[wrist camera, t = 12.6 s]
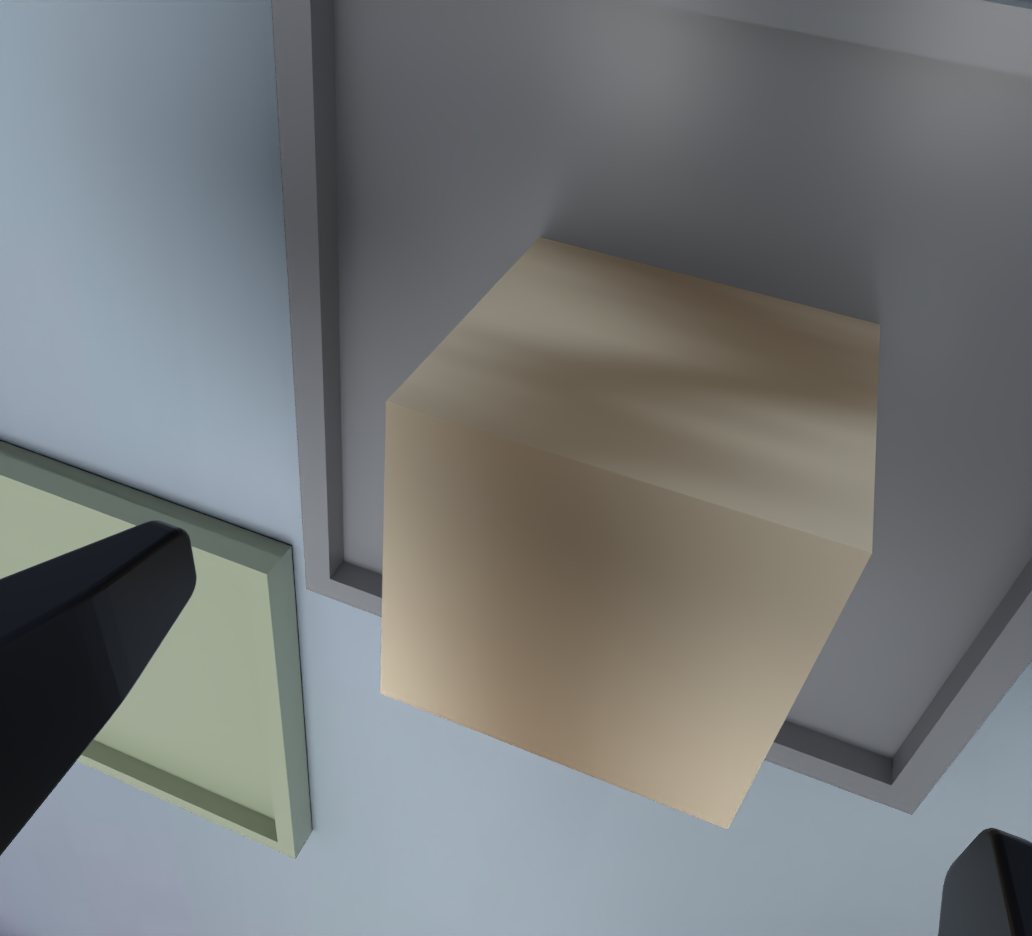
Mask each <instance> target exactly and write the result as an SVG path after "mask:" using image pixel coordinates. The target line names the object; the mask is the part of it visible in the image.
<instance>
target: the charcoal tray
mask: <svg viewBox="0 0 1032 936" xmlns="http://www.w3.org/2000/svg"><path fill="white" fill-rule="evenodd" d="M271 3H272V20H273V36H274V53H275V70H276V87H277V104H278V121H279V137H280V154H281V171H282V188H283V205H284V222H285V238H286V255H287V272H288V289H289V306H290V323H291V339H292V356H293V373H294V390H295V407H296V423H297V440H298V457H299V474H300V491H301V508H302V524H303V541H304V558H305V575H306V589H308V590H310V591H313V592H316V593H318V594H321V595H324V596H326V597H329V598H332V599H335V600H337V601H340V602H343V603H345V604H348V605H351V606H353V607H356V608H359V609H361V610H364V611H367V612H369V613H372V614H375V615H377V616H380V617H382V575H383V524H384V472H385V421H386V401H387V400H388V398H389V397H390V396H391V395H392V394H393V393H394V392H395V391H396V390H397V389H398V388H399V387H400V386H401V385H402V384H403V382H404V381H405V380H406V379H407V378H408V377H409V376H410V375H411V374H412V373H413V372H414V371H415V370H416V369H417V368H418V366H419V365H420V364H421V363H422V362H423V361H424V360H425V359H426V358H427V357H428V356H429V355H430V354H431V353H432V352H433V350H434V349H435V348H436V347H437V346H438V345H439V344H440V343H441V342H442V341H443V340H444V339H445V338H446V337H447V335H448V334H449V333H450V332H451V331H452V330H453V329H454V328H455V327H456V326H457V325H458V324H459V323H460V322H461V321H462V319H463V318H464V317H465V316H466V315H467V314H468V313H469V312H470V311H471V310H472V309H473V308H474V307H475V306H476V305H477V303H478V302H479V301H480V300H481V299H482V298H483V297H484V296H485V295H486V294H487V293H488V292H489V291H490V290H491V289H492V287H493V286H494V285H495V284H496V283H497V282H498V281H499V280H500V279H501V278H502V277H503V276H504V275H505V274H506V272H507V271H508V270H509V269H510V268H511V267H512V266H513V265H514V264H515V263H516V262H517V261H518V260H519V259H520V258H521V256H522V255H523V254H524V253H525V252H526V251H527V250H528V249H529V248H530V247H531V246H532V245H533V244H534V243H535V242H536V240H537V239H538V238H539V237H542V238H546V239H549V240H553V241H557V242H561V243H565V244H569V245H573V246H577V247H581V248H584V249H588V250H592V251H596V252H600V253H604V254H608V255H612V256H616V257H619V258H623V259H627V260H631V261H635V262H639V263H643V264H647V265H651V266H655V267H658V268H662V269H666V270H670V271H674V272H678V273H682V274H686V275H690V276H693V277H697V278H701V279H705V280H709V281H713V282H717V283H721V284H725V285H729V286H732V287H736V288H740V289H744V290H748V291H752V292H756V293H760V294H764V295H767V296H771V297H775V298H779V299H783V300H787V301H791V302H795V303H799V304H802V305H806V306H810V307H814V308H818V309H822V310H826V311H830V312H834V313H838V314H841V315H845V316H849V317H853V318H857V319H861V320H865V321H869V322H873V323H876V324H880V344H879V372H878V401H877V429H876V458H875V486H874V515H873V543H872V554H871V556H870V558H869V560H868V562H867V564H866V566H865V568H864V570H863V572H862V574H861V575H860V577H859V579H858V581H857V583H856V585H855V587H854V589H853V591H852V593H851V595H850V596H849V598H848V600H847V602H846V604H845V606H844V608H843V610H842V612H841V614H840V616H839V617H838V619H837V621H836V623H835V625H834V627H833V629H832V631H831V633H830V635H829V637H828V639H827V640H826V642H825V644H824V646H823V648H822V650H821V652H820V654H819V656H818V658H817V660H816V661H815V663H814V665H813V667H812V669H811V671H810V673H809V675H808V677H807V679H806V681H805V682H804V684H803V686H802V688H801V690H800V692H799V694H798V696H797V698H796V700H795V702H794V704H793V705H792V707H791V709H790V711H789V713H788V715H787V717H786V719H785V721H784V723H783V725H782V726H781V728H780V730H779V732H778V734H777V736H776V738H775V740H774V742H773V744H772V746H771V747H770V749H769V751H768V753H767V755H766V757H765V759H764V760H766V761H769V762H772V763H774V764H777V765H780V766H782V767H785V768H788V769H790V770H793V771H796V772H798V773H801V774H804V775H807V776H809V777H812V778H815V779H817V780H820V781H823V782H825V783H828V784H831V785H833V786H836V787H839V788H841V789H844V790H847V791H849V792H852V793H855V794H857V795H860V796H863V797H866V798H868V799H871V800H874V801H876V802H879V803H882V804H884V805H887V806H890V807H892V808H895V809H898V810H900V811H903V812H906V813H908V814H911V815H912V814H913V812H914V811H915V810H916V809H917V807H918V806H919V805H920V803H921V802H922V801H923V800H924V798H925V797H926V796H927V794H928V793H929V792H930V791H931V789H932V788H933V787H934V785H935V784H936V783H937V782H938V780H939V779H940V778H941V776H942V775H943V774H944V773H945V771H946V770H947V769H948V767H949V766H950V765H951V763H952V762H953V761H954V760H955V758H956V757H957V756H958V754H959V753H960V752H961V751H962V749H963V748H964V747H965V745H966V744H967V743H968V742H969V740H970V739H971V738H972V736H973V735H974V734H975V733H976V731H977V730H978V729H979V727H980V726H981V725H982V724H983V722H984V721H985V720H986V718H987V717H988V716H989V715H990V713H991V712H992V711H993V709H994V708H995V707H996V706H997V704H998V703H999V702H1000V700H1001V699H1002V698H1003V696H1004V695H1005V694H1006V693H1007V691H1008V690H1009V689H1010V687H1011V686H1012V685H1013V684H1014V682H1015V681H1016V680H1017V678H1018V677H1019V676H1020V675H1021V673H1022V672H1023V671H1024V669H1025V668H1026V667H1027V666H1028V664H1029V663H1030V662H1031V660H1032V0H271Z"/></svg>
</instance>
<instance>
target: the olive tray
mask: <svg viewBox="0 0 1032 936" xmlns="http://www.w3.org/2000/svg"><path fill="white" fill-rule="evenodd" d="M152 520H160V521H164V522H166V523H169V524H172V525H174V526H177V527H180V528H182V529H184V530H185V531H186V532H187V533H188V534H189V537H190V540H191V546H192V552H193V558H194V563H195V569H196V576H197V580H196V586H195V589H194V592H193V594H192V596H191V598H190V600H189V601H188V603H187V604H186V606H185V607H184V609H183V610H182V612H181V614H180V615H179V617H178V618H177V620H176V621H175V623H174V624H173V626H172V628H171V629H170V631H169V632H168V634H167V635H166V637H165V638H164V640H163V641H162V643H161V645H160V646H159V648H158V649H157V651H156V652H155V654H154V655H153V657H152V659H151V660H150V662H149V663H148V665H147V666H146V668H145V669H144V671H143V673H142V674H141V676H140V677H139V679H138V680H137V682H136V683H135V685H134V686H133V688H132V689H131V691H130V692H129V694H128V695H127V697H126V698H125V699H124V701H123V702H122V704H121V705H120V706H119V708H118V709H117V710H116V711H115V713H114V714H113V715H112V717H111V718H110V719H109V721H108V722H107V723H106V724H105V726H104V727H103V728H102V729H101V731H100V732H99V733H98V734H97V736H96V737H95V738H94V739H93V741H92V742H91V743H90V744H89V746H88V747H87V748H86V749H85V751H84V752H83V753H82V754H81V756H80V757H79V758H78V759H77V761H78V762H80V763H82V764H85V765H87V766H89V767H91V768H93V769H96V770H98V771H100V772H102V773H105V774H107V775H109V776H111V777H114V778H116V779H118V780H120V781H122V782H125V783H127V784H129V785H131V786H134V787H136V788H138V789H140V790H142V791H145V792H147V793H149V794H151V795H154V796H156V797H158V798H160V799H163V800H165V801H167V802H169V803H171V804H174V805H176V806H178V807H180V808H183V809H185V810H187V811H189V812H191V813H194V814H196V815H198V816H200V817H203V818H205V819H207V820H209V821H212V822H214V823H216V824H218V825H220V826H223V827H225V828H227V829H229V830H232V831H234V832H236V833H238V834H240V835H243V836H245V837H247V838H249V839H252V840H254V841H256V842H258V843H261V844H263V845H265V846H267V847H269V848H272V849H274V850H276V851H278V852H281V853H283V854H285V855H287V856H289V857H292V858H294V859H296V857H297V856H298V854H299V852H300V851H301V849H302V847H303V846H304V844H305V842H306V841H307V839H308V837H309V836H310V834H311V832H312V825H311V811H310V798H309V784H308V770H307V756H306V742H305V728H304V714H303V701H302V687H301V673H300V659H299V645H298V631H297V617H296V603H295V590H294V576H293V562H292V548H291V546H289V545H286V544H284V543H281V542H278V541H275V540H273V539H270V538H267V537H264V536H261V535H259V534H256V533H253V532H250V531H248V530H245V529H242V528H239V527H237V526H234V525H231V524H228V523H226V522H223V521H220V520H217V519H215V518H212V517H209V516H206V515H204V514H201V513H198V512H195V511H193V510H190V509H187V508H184V507H181V506H179V505H176V504H173V503H170V502H168V501H165V500H162V499H159V498H157V497H154V496H151V495H148V494H146V493H143V492H140V491H137V490H135V489H132V488H129V487H126V486H124V485H121V484H118V483H115V482H113V481H110V480H107V479H104V478H102V477H99V476H96V475H93V474H90V473H88V472H85V471H82V470H79V469H77V468H74V467H71V466H68V465H66V464H63V463H60V462H57V461H55V460H52V459H49V458H46V457H44V456H41V455H38V454H35V453H33V452H30V451H27V450H24V449H22V448H19V447H16V446H13V445H10V444H8V443H5V442H2V441H0V579H1V578H4V577H6V576H9V575H11V574H14V573H17V572H19V571H22V570H24V569H27V568H29V567H32V566H35V565H37V564H40V563H42V562H45V561H47V560H50V559H52V558H55V557H58V556H60V555H63V554H65V553H68V552H70V551H73V550H76V549H78V548H81V547H83V546H86V545H88V544H91V543H93V542H96V541H99V540H101V539H104V538H106V537H109V536H111V535H114V534H117V533H119V532H122V531H124V530H127V529H129V528H132V527H134V526H137V525H140V524H142V523H145V522H148V521H152Z"/></svg>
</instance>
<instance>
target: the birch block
mask: <svg viewBox="0 0 1032 936" xmlns="http://www.w3.org/2000/svg"><path fill="white" fill-rule="evenodd" d="M879 344H880V324H876V323H873V322H869V321H865V320H861V319H857V318H853V317H849V316H845V315H841V314H838V313H834V312H830V311H826V310H822V309H818V308H814V307H810V306H806V305H802V304H799V303H795V302H791V301H787V300H783V299H779V298H775V297H771V296H767V295H764V294H760V293H756V292H752V291H748V290H744V289H740V288H736V287H732V286H729V285H725V284H721V283H717V282H713V281H709V280H705V279H701V278H697V277H693V276H690V275H686V274H682V273H678V272H674V271H670V270H666V269H662V268H658V267H655V266H651V265H647V264H643V263H639V262H635V261H631V260H627V259H623V258H619V257H616V256H612V255H608V254H604V253H600V252H596V251H592V250H588V249H584V248H581V247H577V246H573V245H569V244H565V243H561V242H557V241H553V240H549V239H546V238H542V237H539V238H538V239H537V240H536V242H535V243H534V244H533V245H532V246H531V247H530V248H529V249H528V250H527V251H526V252H525V253H524V254H523V255H522V256H521V258H520V259H519V260H518V261H517V262H516V263H515V264H514V265H513V266H512V267H511V268H510V269H509V270H508V271H507V272H506V274H505V275H504V276H503V277H502V278H501V279H500V280H499V281H498V282H497V283H496V284H495V285H494V286H493V287H492V289H491V290H490V291H489V292H488V293H487V294H486V295H485V296H484V297H483V298H482V299H481V300H480V301H479V302H478V303H477V305H476V306H475V307H474V308H473V309H472V310H471V311H470V312H469V313H468V314H467V315H466V316H465V317H464V318H463V319H462V321H461V322H460V323H459V324H458V325H457V326H456V327H455V328H454V329H453V330H452V331H451V332H450V333H449V334H448V335H447V337H446V338H445V339H444V340H443V341H442V342H441V343H440V344H439V345H438V346H437V347H436V348H435V349H434V350H433V352H432V353H431V354H430V355H429V356H428V357H427V358H426V359H425V360H424V361H423V362H422V363H421V364H420V365H419V366H418V368H417V369H416V370H415V371H414V372H413V373H412V374H411V375H410V376H409V377H408V378H407V379H406V380H405V381H404V382H403V384H402V385H401V386H400V387H399V388H398V389H397V390H396V391H395V392H394V393H393V394H392V395H391V396H390V397H389V398H388V400H387V401H386V421H385V472H384V524H383V575H382V627H381V678H380V693H381V694H383V695H386V696H388V697H391V698H394V699H396V700H399V701H401V702H404V703H406V704H409V705H411V706H414V707H416V708H419V709H422V710H424V711H427V712H429V713H432V714H434V715H437V716H439V717H442V718H445V719H447V720H450V721H452V722H455V723H457V724H460V725H462V726H465V727H467V728H470V729H473V730H475V731H478V732H480V733H483V734H485V735H488V736H490V737H493V738H495V739H498V740H501V741H503V742H506V743H508V744H511V745H513V746H516V747H518V748H521V749H524V750H526V751H529V752H531V753H534V754H536V755H539V756H541V757H544V758H546V759H549V760H552V761H554V762H557V763H559V764H562V765H564V766H567V767H569V768H572V769H574V770H577V771H580V772H582V773H585V774H587V775H590V776H592V777H595V778H597V779H600V780H602V781H605V782H608V783H610V784H613V785H615V786H618V787H620V788H623V789H625V790H628V791H631V792H633V793H636V794H638V795H641V796H643V797H646V798H648V799H651V800H653V801H656V802H659V803H661V804H664V805H666V806H669V807H671V808H674V809H676V810H679V811H681V812H684V813H687V814H689V815H692V816H694V817H697V818H699V819H702V820H704V821H707V822H710V823H712V824H715V825H717V826H720V827H722V828H725V829H727V830H728V828H729V826H730V824H731V822H732V820H733V818H734V816H735V814H736V813H737V811H738V809H739V807H740V805H741V803H742V801H743V799H744V797H745V795H746V793H747V791H748V790H749V788H750V786H751V784H752V782H753V780H754V778H755V776H756V774H757V772H758V770H759V769H760V767H761V765H762V763H763V761H764V759H765V757H766V755H767V753H768V751H769V749H770V747H771V746H772V744H773V742H774V740H775V738H776V736H777V734H778V732H779V730H780V728H781V726H782V725H783V723H784V721H785V719H786V717H787V715H788V713H789V711H790V709H791V707H792V705H793V704H794V702H795V700H796V698H797V696H798V694H799V692H800V690H801V688H802V686H803V684H804V682H805V681H806V679H807V677H808V675H809V673H810V671H811V669H812V667H813V665H814V663H815V661H816V660H817V658H818V656H819V654H820V652H821V650H822V648H823V646H824V644H825V642H826V640H827V639H828V637H829V635H830V633H831V631H832V629H833V627H834V625H835V623H836V621H837V619H838V617H839V616H840V614H841V612H842V610H843V608H844V606H845V604H846V602H847V600H848V598H849V596H850V595H851V593H852V591H853V589H854V587H855V585H856V583H857V581H858V579H859V577H860V575H861V574H862V572H863V570H864V568H865V566H866V564H867V562H868V560H869V558H870V556H871V554H872V543H873V515H874V486H875V458H876V429H877V401H878V372H879Z"/></svg>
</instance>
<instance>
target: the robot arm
mask: <svg viewBox="0 0 1032 936" xmlns="http://www.w3.org/2000/svg"><path fill="white" fill-rule="evenodd" d="M196 580H197V576H196V569H195V563H194V558H193V552H192V546H191V540H190V537H189V534H188V533H187V532H186V531H185V530H184V529H182V528H180V527H177V526H174V525H172V524H169V523H166V522H164V521H160V520H152V521H148V522H145V523H142V524H140V525H137V526H134V527H132V528H129V529H127V530H124V531H122V532H119V533H117V534H114V535H111V536H109V537H106V538H104V539H101V540H99V541H96V542H93V543H91V544H88V545H86V546H83V547H81V548H78V549H76V550H73V551H70V552H68V553H65V554H63V555H60V556H58V557H55V558H52V559H50V560H47V561H45V562H42V563H40V564H37V565H35V566H32V567H29V568H27V569H24V570H22V571H19V572H17V573H14V574H11V575H9V576H6V577H4V578H1V579H0V855H1V854H2V853H3V852H4V850H5V849H6V848H7V847H8V845H9V844H10V843H11V842H12V840H13V839H14V838H15V837H16V835H17V834H18V833H19V832H20V831H21V829H22V828H23V827H24V826H25V824H26V823H27V822H28V821H29V819H30V818H31V817H32V816H33V814H34V813H35V812H36V811H37V809H38V808H39V807H40V806H41V804H42V803H43V802H44V801H45V799H46V798H47V797H48V796H49V794H50V793H51V792H52V791H53V789H54V788H55V787H56V786H57V784H58V783H59V782H60V781H61V779H62V778H63V777H64V776H65V774H66V773H67V772H68V771H69V769H70V768H71V767H72V766H73V764H74V763H75V762H76V761H77V759H78V758H79V757H80V756H81V754H82V753H83V752H84V751H85V749H86V748H87V747H88V746H89V744H90V743H91V742H92V741H93V739H94V738H95V737H96V736H97V734H98V733H99V732H100V731H101V729H102V728H103V727H104V726H105V724H106V723H107V722H108V721H109V719H110V718H111V717H112V715H113V714H114V713H115V711H116V710H117V709H118V708H119V706H120V705H121V704H122V702H123V701H124V699H125V698H126V697H127V695H128V694H129V692H130V691H131V689H132V688H133V686H134V685H135V683H136V682H137V680H138V679H139V677H140V676H141V674H142V673H143V671H144V669H145V668H146V666H147V665H148V663H149V662H150V660H151V659H152V657H153V655H154V654H155V652H156V651H157V649H158V648H159V646H160V645H161V643H162V641H163V640H164V638H165V637H166V635H167V634H168V632H169V631H170V629H171V628H172V626H173V624H174V623H175V621H176V620H177V618H178V617H179V615H180V614H181V612H182V610H183V609H184V607H185V606H186V604H187V603H188V601H189V600H190V598H191V596H192V594H193V592H194V589H195V586H196ZM938 936H1032V843H1031V842H1029V841H1027V840H1025V839H1023V838H1020V837H1017V836H1015V835H1012V834H1009V833H1006V832H1004V831H1001V830H998V829H995V828H989V829H985V830H983V831H982V832H981V833H980V834H979V835H978V836H977V837H976V838H975V839H974V840H973V842H972V843H971V844H970V845H969V846H968V847H967V848H966V849H965V850H964V852H963V853H962V854H961V855H960V856H959V857H958V858H957V859H956V860H955V862H954V863H953V864H952V865H951V867H950V868H949V870H948V872H947V875H946V878H945V881H944V885H943V893H942V903H941V913H940V922H939V932H938Z"/></svg>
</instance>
